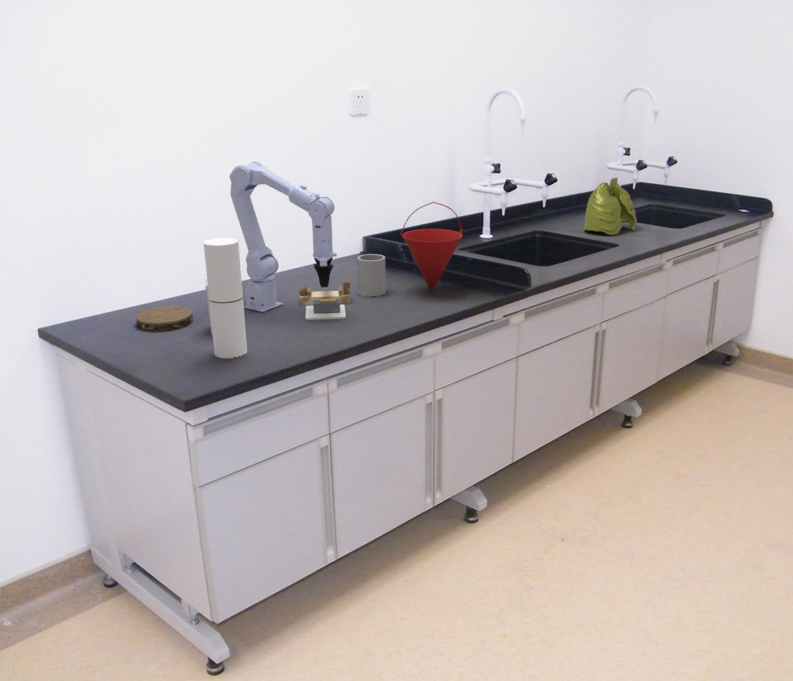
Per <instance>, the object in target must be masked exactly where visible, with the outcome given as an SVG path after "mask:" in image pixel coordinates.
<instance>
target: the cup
mask: <svg viewBox="0 0 793 681" xmlns="http://www.w3.org/2000/svg"><path fill="white" fill-rule="evenodd" d="M356 258H357V260H356V261H357V293H358V295H359V294H360V295H359V296H363V297H367V296H369V297H370V296H376V297H381V296H384V295H385V294H386V291H387V289H386V285H387V284H386V256H385V255H382V254H378V253H377V254H374V253H368V254H362V255H361V254H360V255H358V256H357V257H356ZM383 294H384V295H383ZM380 295H381V296H380Z"/></svg>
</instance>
